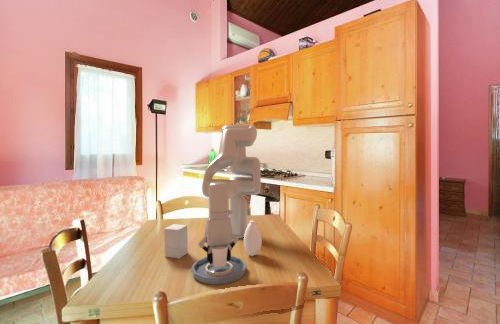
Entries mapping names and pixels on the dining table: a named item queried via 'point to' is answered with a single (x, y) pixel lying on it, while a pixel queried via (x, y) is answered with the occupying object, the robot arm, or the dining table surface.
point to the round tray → (218, 271)
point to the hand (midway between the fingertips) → (219, 260)
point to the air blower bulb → (252, 238)
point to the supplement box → (176, 241)
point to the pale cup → (219, 255)
